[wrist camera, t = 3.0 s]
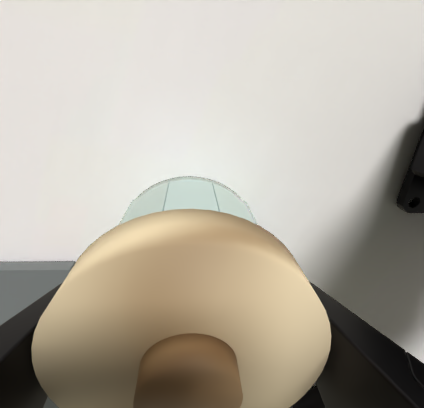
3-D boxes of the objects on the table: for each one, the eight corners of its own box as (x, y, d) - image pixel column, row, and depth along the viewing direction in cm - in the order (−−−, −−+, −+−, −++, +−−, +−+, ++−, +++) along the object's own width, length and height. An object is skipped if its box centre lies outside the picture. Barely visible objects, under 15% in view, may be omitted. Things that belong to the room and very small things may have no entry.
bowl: (263, 177, 11) (301, 222, 7) (247, 289, 13) (269, 365, 10) (113, 173, 10) (72, 221, 7) (126, 291, 13) (102, 373, 9)
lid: (329, 210, 7) (398, 270, 4) (283, 382, 10) (311, 468, 7) (36, 206, 6) (-51, 275, 4) (84, 393, 9) (50, 491, 7)
